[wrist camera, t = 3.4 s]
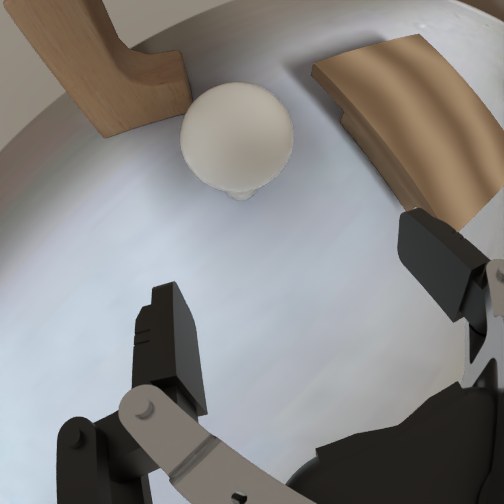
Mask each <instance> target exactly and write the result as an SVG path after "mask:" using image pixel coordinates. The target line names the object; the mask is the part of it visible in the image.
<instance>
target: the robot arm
mask: <svg viewBox="0 0 504 504" xmlns="http://www.w3.org/2000/svg"><path fill="white" fill-rule="evenodd" d="M397 250H398V255H399V258H400V260H401V262H402V264H403V265H404V266H405V267H406V268H407V269H408V270H409V271H410V272H411V274H412V275H413V276H414V277H415V278H416V279H417V280H418V281H419V283H420V284H421V285H422V286H423V287H424V288H425V289H426V291H427V292H428V293H429V294H430V295H431V296H432V298H433V299H434V300H435V301H436V302H437V304H438V305H439V306H440V307H441V308H442V310H443V311H444V312H445V313H446V314H447V316H448V317H449V318H450V319H451V321H452V322H453V323H454V322H456V321H457V320H459V319H461V318H463V317H465V318H466V320H467V321H466V323H465V369H464V375H463V378H462V381H461V384H459V382H458V381H457V382H455V383H454V384H452V385H450V386H449V387H447V388H445V389H444V390H442V391H440V392H439V393H437V394H435V395H434V396H432V397H430V398H428V399H427V400H426V401H425V402H424V403H423V404H422V405H421V406H420V407H419V408H418V409H417V410H415V411H414V412H413V413H412V414H411V415H410V416H409V417H408V418H406V419H405V420H404V421H403V422H402V423H400V424H399V425H397V426H393V427H388V428H384V429H379V430H374V431H368V432H363V433H357V434H354V435H351V436H349V437H346V438H343V439H341V440H338V441H336V442H333V443H330V444H327V445H325V446H322V447H319V448H316V457H315V458H313V459H311V460H310V461H308V462H307V463H306V464H304V465H303V466H302V467H300V468H299V469H298V470H297V471H296V472H295V473H294V474H293V475H292V477H291V478H290V479H289V480H288V481H287V483H286V484H285V485H284V484H283V483H281V482H280V481H278V480H276V479H275V478H273V477H272V476H270V475H269V474H267V473H266V472H264V471H263V470H261V469H260V468H259V467H257V466H256V465H254V464H253V463H251V462H250V461H249V460H247V459H246V458H244V457H243V456H242V455H240V454H239V453H238V452H236V451H235V450H233V449H232V448H231V447H230V446H228V445H227V444H226V443H224V442H223V441H222V440H220V439H219V438H217V437H216V436H213V435H212V434H211V433H209V432H208V431H207V430H206V429H204V428H203V427H202V426H201V425H200V424H199V423H198V416H203V415H207V414H208V413H207V406H206V400H205V393H204V386H203V379H202V372H201V364H200V356H199V348H198V340H197V331H196V326H195V322H194V319H193V316H192V314H191V312H190V310H189V308H188V306H187V304H186V302H185V300H184V297H183V295H182V293H181V291H180V289H179V287H178V285H177V283H176V282H175V281H173V282H170V283H166V284H163V285H160V286H156V287H153V288H152V299H151V305H147V306H144V307H142V309H141V311H140V313H139V315H138V317H137V318H136V323H135V336H134V345H135V346H134V350H133V368H132V388H131V390H130V391H129V392H127V393H126V394H125V396H124V397H123V398H122V400H121V402H120V405H119V410H118V411H116V412H114V413H113V414H111V415H109V416H107V417H105V418H103V419H101V420H98V421H96V422H94V423H92V422H91V421H90V420H88V419H87V418H84V417H73V418H71V419H69V420H68V421H66V422H65V423H64V424H63V426H62V427H61V429H60V431H59V433H58V438H57V462H56V480H57V504H153V502H152V497H151V491H150V485H149V478H148V473H150V472H152V471H155V470H157V469H159V468H161V469H162V470H163V471H164V472H165V473H166V474H167V475H168V476H169V478H170V479H169V481H170V483H171V484H172V485H173V487H174V488H175V489H176V490H177V491H178V492H179V493H180V494H181V495H182V496H183V497H184V498H186V499H187V500H188V501H189V502H190V503H191V504H504V260H503V259H494V260H489V259H488V258H487V257H486V256H485V255H484V254H483V253H482V252H481V251H480V250H478V249H477V248H476V247H475V246H474V245H473V244H472V243H470V242H469V241H468V240H467V239H466V238H465V239H464V238H463V236H462V235H461V234H460V233H459V232H456V230H455V229H454V228H452V227H451V226H450V225H449V224H448V223H446V222H444V221H442V220H439V219H437V218H435V217H432V216H431V215H430V214H429V213H427V212H426V211H425V210H424V209H422V208H416V209H413V210H409V211H406V212H403V213H402V214H401V215H400V220H399V234H398V246H397Z"/></svg>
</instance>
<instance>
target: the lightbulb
mask: <svg viewBox="0 0 504 504" xmlns="http://www.w3.org/2000/svg"><path fill="white" fill-rule="evenodd" d="M293 143H294V131H293V125H292V121H291V118H290V115H289V113H288V111H287V110H286V108H285V106H284V105H283V104H282V102H281V101H280V100H279V99H278V98H277V97H276V96H275V95H273V94H272V93H271V92H269V91H268V90H266V89H264V88H262V87H260V86H257V85H254V84H250V83H245V82H230V83H224V84H221V85H217V86H215V87H213V88H211V89H209V90H207V91H205V92H204V93H202V94H201V95H200V96H199V97H198V98H197V99H196V100H195V101H194V102H193V103H192V104H191V106H190V107H189V109H188V110H187V112H186V114H185V116H184V118H183V121H182V125H181V130H180V145H181V151H182V154H183V157H184V159H185V161H186V163H187V165H188V167H189V168H190V170H191V171H192V172H193V173H194V174H195V175H196V176H197V177H198V178H199V179H200V180H201V181H203V182H204V183H206V184H207V185H209V186H211V187H213V188H216V189H219V190H222V191H225V192H226V194H227V195H228V196H229V197H231V198H233V199H235V200H246V199H249V198H250V197H252V196H253V195H254V194H255V193H256V191H257V189H258V188H260V187H262V186H264V185H266V184H267V183H269V182H270V181H272V180H273V179H274V178H275V177H276V176H277V175H278V174H279V173H280V172H281V171H282V170H283V168H284V167H285V165H286V164H287V162H288V160H289V158H290V155H291V152H292V149H293Z"/></svg>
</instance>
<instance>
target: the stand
mask: <svg viewBox="0 0 504 504" xmlns="http://www.w3.org/2000/svg"><path fill="white" fill-rule="evenodd" d="M311 76H312V77H313V78H314V79H315V80H316V81H317V82H318V83H319V84H320V85H321V86H322V87H323V89H324V90H325V91H326V92H327V93H328V94H329V95H330V96H331V97H332V98H333V99H334V100H335V102H336V103H337V104H338V105H339V106H340V107H341V108H342V109H343V111H344V114H343V116H342V118H341V121H340V123H341V124H342V125H343V126H344V128H345V129H346V130H347V131H348V132H349V134H350V135H351V136H352V137H353V139H354V140H355V141H356V142H357V144H358V145H359V146H360V147H361V149H362V150H363V151H364V153H365V154H366V155H367V156H368V158H369V159H370V160H371V162H372V163H373V164H374V166H375V167H376V168H377V170H378V171H379V173H380V174H381V175H382V177H383V178H384V179H385V181H386V182H387V184H388V185H389V187H390V188H391V189H392V191H393V192H394V194H395V195H396V197H397V198H398V200H399V201H400V203H401V204H402V206H403V207H404V209H405V210H406V211H409V210H412V209H413V208H415V207H417V208H422V209H424V210H425V211H426V212H427V213H429V214H430V215H431V216H432V217H435V218H437V219H439V220H442V221H444V222H446V223H448V224H449V225H450V226H451V227H452V228H454V229H455V230H456V232H459V231H460V230H461V229H462V228H463V227H464V226H465V225H466V224H467V223H468V222H469V221H470V220H471V219H472V218H473V217H474V216H475V215H476V214H477V213H478V212H479V211H480V210H481V209H482V208H483V207H484V206H485V205H486V204H487V203H488V202H489V201H490V200H491V199H492V198H493V197H494V196H495V195H496V194H497V193H498V192H499V190H500V189H501V188H502V187H503V186H504V130H503V129H502V128H501V126H500V125H499V123H498V122H497V120H496V119H495V118H494V116H493V115H492V114H491V112H490V111H489V110H488V108H487V107H486V106H485V104H484V103H483V102H482V101H481V99H480V98H479V97H478V96H477V94H476V93H475V92H474V91H473V89H472V88H471V87H470V86H469V85H468V84H467V82H466V81H465V80H464V79H463V78H462V77H461V75H460V74H459V73H458V72H457V71H456V70H455V69H454V68H453V67H452V66H451V65H450V64H449V62H448V61H447V60H446V59H445V58H444V57H443V56H442V55H441V54H440V53H439V52H438V51H437V50H436V49H435V48H434V47H433V46H432V45H431V44H430V43H428V42H427V41H426V40H425V39H424V38H423V37H422V36H421V35H420V34H416V35H411V36H406V37H402V38H397V39H393V40H389V41H385V42H381V43H377V44H373V45H370V46H366V47H362V48H359V49H356V50H352V51H349V52H346V53H342V54H339V55H336V56H333V57H330V58H327V59H324V60H321V61H318V62H315V63H314V64H313V68H312V72H311Z"/></svg>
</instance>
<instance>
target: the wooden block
mask: <svg viewBox="0 0 504 504" xmlns="http://www.w3.org/2000/svg"><path fill="white" fill-rule="evenodd" d="M3 5H4V8H5V9H6V11H7V12H8V13H9V15H10V16H11V18H12V19H13V21H14V22H15V23H16V25H17V26H18V28H19V29H20V30H21V32H22V33H23V34H24V36H25V37H26V39H27V40H28V41H29V42H30V44H31V45H32V47H33V48H34V50H35V51H36V52H37V53H38V55H39V56H40V58H41V59H42V60H43V62H44V63H45V64H46V66H47V67H48V68H49V70H50V71H51V72H52V73H53V75H54V76H55V77H56V79H57V80H58V81H59V82H60V84H61V85H62V86H63V88H64V89H65V90H66V92H67V93H68V94H69V95H70V97H71V98H72V99H73V101H74V102H75V103H76V104H77V106H78V107H79V108H80V109H81V111H82V112H83V113H84V114H85V116H86V117H87V118H88V119H89V121H90V122H91V123H92V124H93V126H94V127H95V128H96V129H97V130H98V132H99V133H100V134H101V135H102V137H103V138H108V137H111V136H114V135H117V134H120V133H122V132H125V131H128V130H131V129H134V128H137V127H140V126H144V125H147V124H150V123H153V122H157V121H160V120H163V119H167V118H170V117H174V116H178V115H181V114H185V113H186V112H187V110H188V109H189V107H190V106H191V104H192V103H193V100H192V95H191V90H190V85H189V80H188V76H187V72H186V68H185V64H184V61H183V57H182V53H181V52H180V51H177V50H176V51H169V52H162V53H156V54H150V55H148V54H145V53H141V52H137V51H134V50H130V49H129V48H128V47H127V46H126V45H125V44H124V43H123V42H122V41H121V40H120V39H119V38H118V35H117V33H116V31H115V29H114V26H113V24H112V22H111V20H110V18H109V15H108V13H107V11H106V8H105V6H104V4H103V2H102V0H4V2H3Z"/></svg>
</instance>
